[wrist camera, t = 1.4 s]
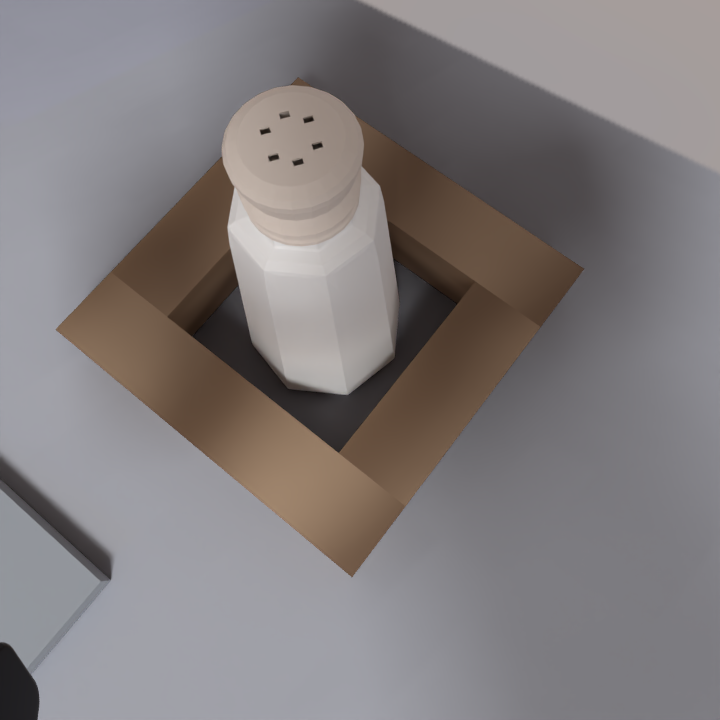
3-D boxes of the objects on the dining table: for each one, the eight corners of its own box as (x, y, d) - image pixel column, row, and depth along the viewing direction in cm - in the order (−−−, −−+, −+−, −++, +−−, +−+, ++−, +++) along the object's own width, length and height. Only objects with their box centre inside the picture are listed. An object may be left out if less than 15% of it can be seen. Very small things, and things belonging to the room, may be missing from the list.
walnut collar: (562, 297, 23) (584, 268, 21) (354, 573, 21) (351, 577, 18) (304, 121, 25) (298, 77, 23) (88, 352, 23) (55, 329, 21)
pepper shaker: (235, 277, 24) (127, 60, 13) (377, 238, 24) (384, -4, 13) (272, 418, 22) (183, 301, 12) (422, 374, 23) (470, 222, 12)
